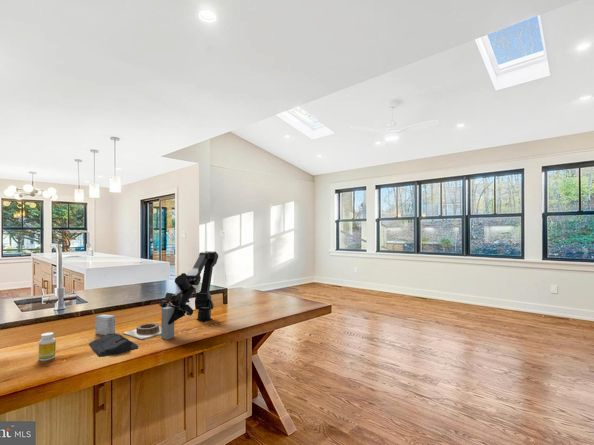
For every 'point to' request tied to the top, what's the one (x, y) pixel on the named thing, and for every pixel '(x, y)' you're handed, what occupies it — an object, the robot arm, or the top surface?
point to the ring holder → (145, 331)
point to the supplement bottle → (47, 347)
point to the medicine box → (105, 324)
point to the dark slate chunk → (111, 345)
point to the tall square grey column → (167, 329)
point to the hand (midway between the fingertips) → (165, 323)
